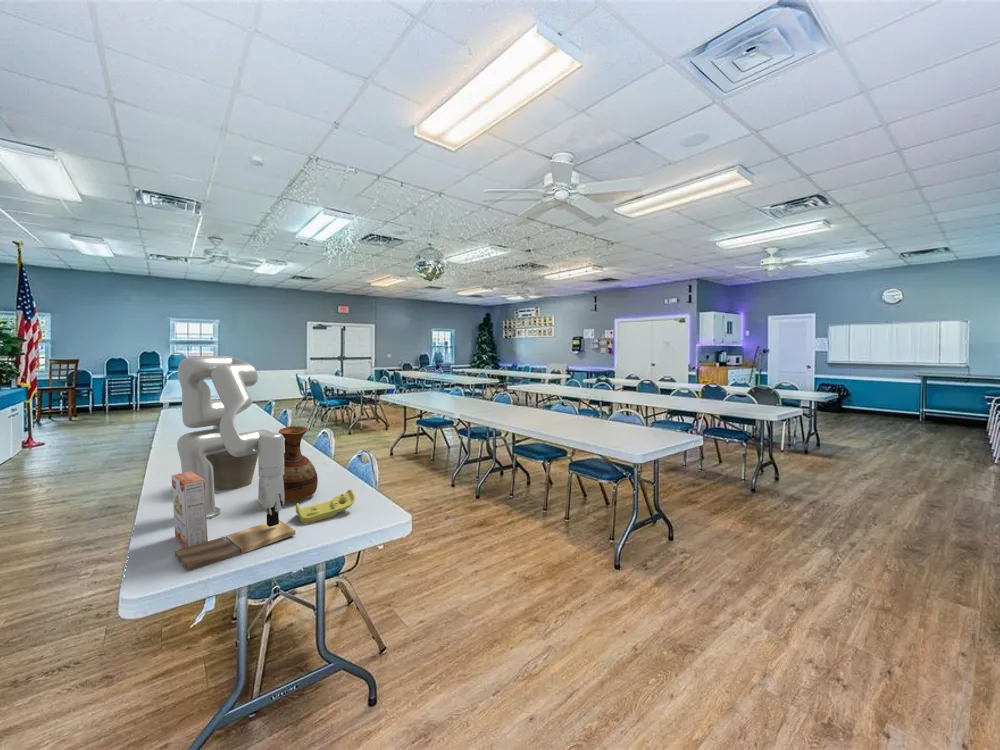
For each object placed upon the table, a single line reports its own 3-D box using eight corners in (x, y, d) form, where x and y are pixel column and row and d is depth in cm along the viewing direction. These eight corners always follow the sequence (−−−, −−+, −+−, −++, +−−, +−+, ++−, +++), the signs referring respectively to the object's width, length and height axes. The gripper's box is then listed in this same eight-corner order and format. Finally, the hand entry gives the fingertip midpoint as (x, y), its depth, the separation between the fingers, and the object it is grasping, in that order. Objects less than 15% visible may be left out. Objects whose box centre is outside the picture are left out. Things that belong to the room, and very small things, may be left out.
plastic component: (301, 519, 149) (295, 500, 156) (302, 534, 152) (295, 514, 159) (358, 503, 160) (350, 486, 167) (357, 517, 163) (349, 500, 170)
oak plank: (241, 553, 128) (241, 548, 128) (226, 540, 137) (225, 535, 137) (295, 534, 140) (295, 529, 140) (277, 523, 149) (277, 519, 149)
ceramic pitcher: (269, 510, 164) (267, 433, 162) (262, 496, 180) (259, 425, 178) (323, 499, 175) (321, 427, 173) (311, 487, 191) (310, 421, 190)
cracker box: (173, 537, 140) (170, 474, 139) (195, 531, 144) (192, 470, 143) (185, 550, 131) (182, 483, 130) (208, 543, 135) (205, 478, 134)
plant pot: (228, 496, 179) (226, 445, 178) (185, 491, 186) (183, 442, 185) (276, 479, 202) (274, 434, 201) (236, 475, 210) (234, 431, 209)
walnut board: (175, 555, 127) (174, 550, 127) (224, 541, 137) (224, 536, 137) (187, 571, 118) (187, 565, 118) (240, 554, 128) (240, 549, 128)
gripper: (250, 468, 143) (252, 522, 144) (268, 477, 133) (269, 535, 134) (274, 464, 148) (275, 515, 149) (293, 472, 138) (294, 527, 140)
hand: (272, 524), depth 142 cm, fingers closed
